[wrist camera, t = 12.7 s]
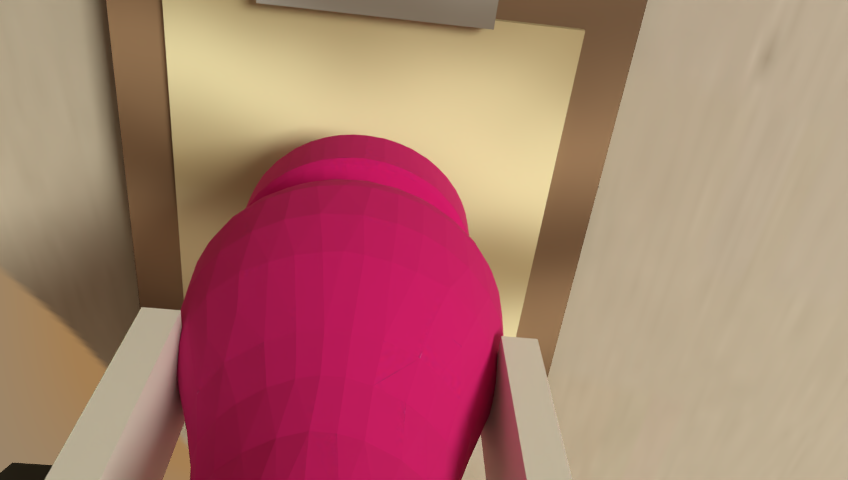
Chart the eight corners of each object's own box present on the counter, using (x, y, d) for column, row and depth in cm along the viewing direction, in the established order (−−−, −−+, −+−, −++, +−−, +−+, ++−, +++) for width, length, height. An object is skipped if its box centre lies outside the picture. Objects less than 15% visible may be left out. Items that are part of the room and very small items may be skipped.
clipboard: (108, -116, 18) (79, -111, 16) (647, -50, 19) (669, -39, 17) (157, 369, 26) (141, 404, 24) (532, 397, 27) (540, 432, 25)
